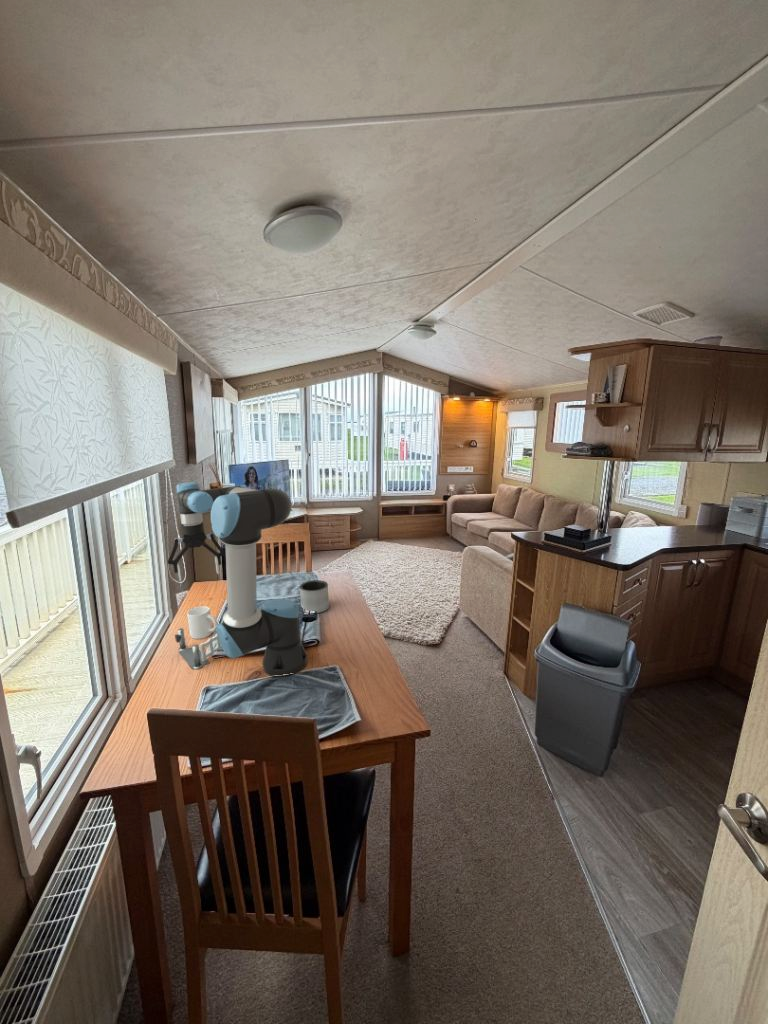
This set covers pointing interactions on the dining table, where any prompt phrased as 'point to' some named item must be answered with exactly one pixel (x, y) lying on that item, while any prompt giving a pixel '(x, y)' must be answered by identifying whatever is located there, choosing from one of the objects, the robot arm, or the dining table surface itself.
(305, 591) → the planter
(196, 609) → the mug
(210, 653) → the gate
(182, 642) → the gateposts
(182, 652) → the grey flat plate
